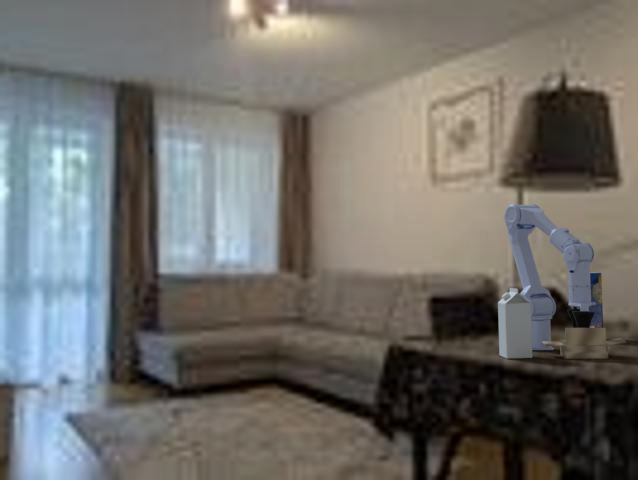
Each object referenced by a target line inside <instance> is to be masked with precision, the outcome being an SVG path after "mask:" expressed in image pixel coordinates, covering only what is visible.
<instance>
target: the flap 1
mask: <svg viewBox="0 0 638 480" xmlns="http://www.w3.org/2000/svg"><path fill="white" fill-rule="evenodd" d="M606 329H607V328H606V327H603V328H573V327H565V329H564V330H565V334H564V335H565V339H566V345H607V344H606V340H607V330H606Z"/></svg>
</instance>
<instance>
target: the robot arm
mask: <svg viewBox="0 0 638 480" xmlns="http://www.w3.org/2000/svg"><path fill="white" fill-rule="evenodd" d="M503 218H504V219H503V220H504V223H505V226H506V230H507V234H508V235H507V236H508V239H509V243H510V247H511V250H512V254H513V258H514V260H515V265H516V268H517V272H518V277H519V279H520V283H521V285H522V286H521V287H522V290H521V292H519V294H520V295H522V296H523V297H524V298H525V299H526V300H528V301H529V302H530V303H531V325H532V351H555V348H554V346H545V345H544V344H543V343H542V341H552V335H551V333H552V332H551V331H552V329H551V320H552V319H553V316H554V315H555V313H556V310H557V304H556V301H555V300H554V298H553V297H552V295H551V292H550V290H549V289H547V288H546V287H545V286H543V285H542V281H541V279H540V275H539V271H538V270H537V266H536V261H535V259H534V255H533V252H532V249H531V248H532V247H531V246H530V242H529V236H530V235H531V234H532V233H533V232H534V230H535V229H536V228H537V229H538V230H540V231H541V232H542V233H544V234H545V235H546V236H548V237H549V243H550V244H551V245H552V246H553V247H555V248H556V249H557V251H559V252H560V253H561V254H562V259H563V261H564V262H565V264H566V265H565V266H566V267H565V268H566V270H567V271H568V272H567V273H568V279H567V280H568V306H571V307H572V309H566V311H567V313H568V315H569V318H570V320H571V324H572V328H590V323H591V320H592V318H593V316H594V314H595V312H588V311H589V306H591V305H596V303H595V302H591V287H590V286H591V285H590V273H591V264H590V263H592V262H593V260H594V258H595V250H594V248H593V247H592V245H591V244H590V243H589V242H582V241H580V239H579V237H575V236H574V235H573V234H572V233H571V232H570V229H569V228H565V227H558V226H557V225H556V224H555V223H554V222H553V221H552V220H551V219H550V218H549V217H548V216H547V215H546V214H545V212H544V209H543V208H541V207H540V206H539V205H537V204H515V203H511V204H510V205H508V206H507V208H506V210H505V213H504V216H503Z"/></svg>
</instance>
